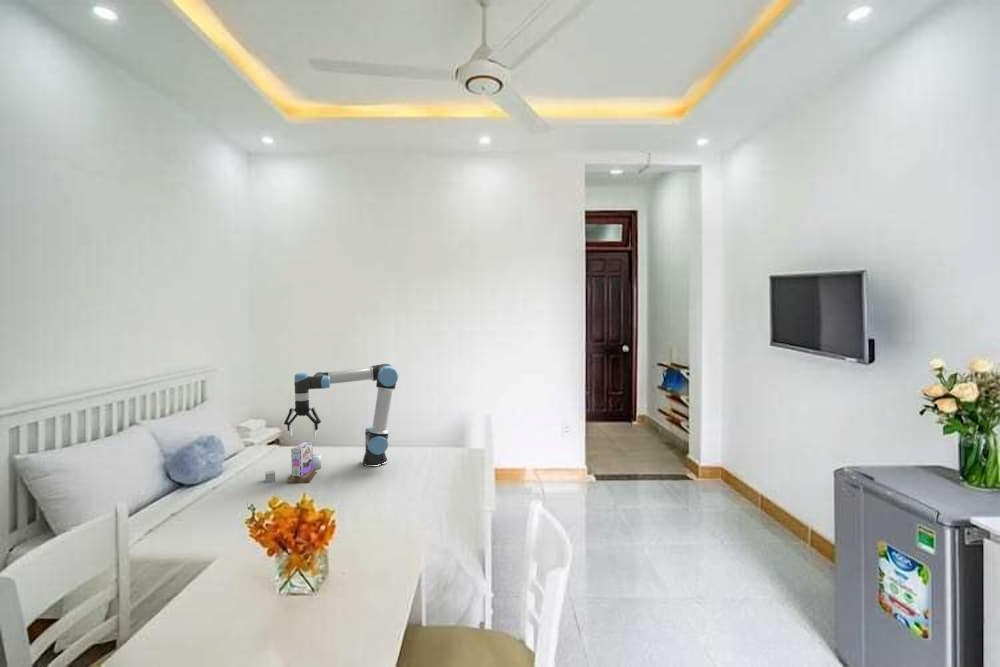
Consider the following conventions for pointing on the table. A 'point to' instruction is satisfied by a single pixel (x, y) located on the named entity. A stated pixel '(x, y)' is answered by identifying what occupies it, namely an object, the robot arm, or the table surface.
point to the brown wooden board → (302, 477)
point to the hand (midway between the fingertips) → (303, 435)
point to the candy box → (302, 459)
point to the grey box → (270, 476)
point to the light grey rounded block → (317, 461)
